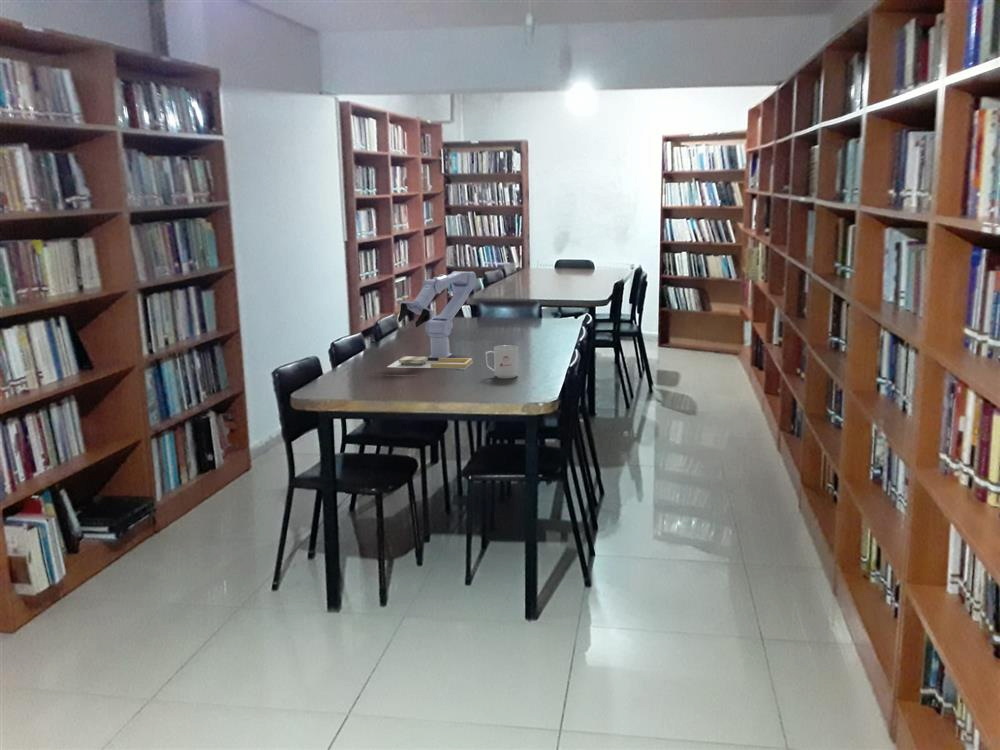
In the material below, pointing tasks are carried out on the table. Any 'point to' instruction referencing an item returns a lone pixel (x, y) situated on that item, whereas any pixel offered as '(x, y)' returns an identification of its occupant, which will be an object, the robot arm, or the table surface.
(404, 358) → the beige flat block
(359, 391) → the table surface
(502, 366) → the mug
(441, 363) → the board
